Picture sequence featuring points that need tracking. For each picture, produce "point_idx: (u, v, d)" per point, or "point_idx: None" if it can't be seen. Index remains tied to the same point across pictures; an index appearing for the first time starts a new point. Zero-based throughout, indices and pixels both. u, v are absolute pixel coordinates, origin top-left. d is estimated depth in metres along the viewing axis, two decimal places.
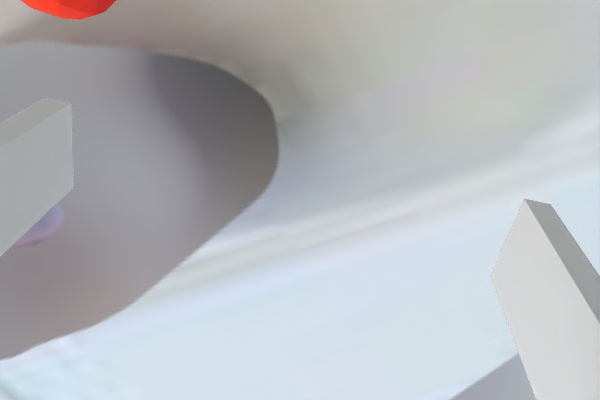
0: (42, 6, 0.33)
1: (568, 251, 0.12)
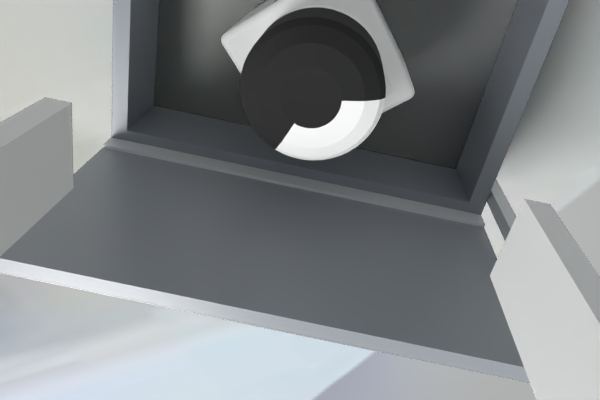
0: None
1: (568, 251, 0.12)
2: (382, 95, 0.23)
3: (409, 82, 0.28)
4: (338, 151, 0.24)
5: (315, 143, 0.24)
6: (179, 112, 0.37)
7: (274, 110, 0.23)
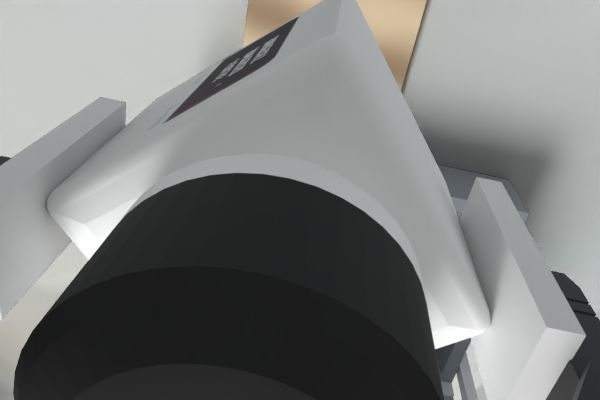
0: None
1: (510, 222, 0.13)
2: None
3: (481, 303, 0.12)
4: None
5: None
6: None
7: None
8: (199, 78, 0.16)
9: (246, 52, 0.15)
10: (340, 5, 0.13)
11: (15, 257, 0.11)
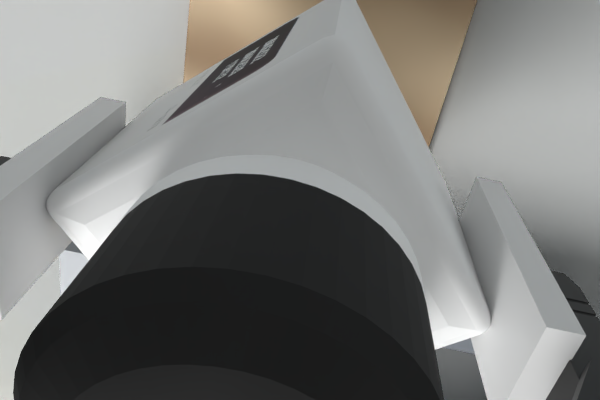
0: None
1: (510, 222, 0.13)
2: None
3: (481, 303, 0.12)
4: None
5: None
6: None
7: None
8: (199, 78, 0.16)
9: (246, 52, 0.15)
10: (340, 5, 0.13)
11: (15, 257, 0.11)
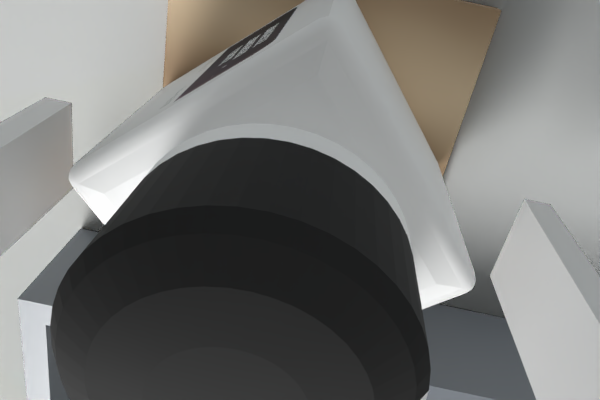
0: None
1: (568, 251, 0.12)
2: (422, 392, 0.09)
3: (466, 263, 0.13)
4: None
5: None
6: None
7: None
8: (205, 65, 0.17)
9: (249, 39, 0.16)
10: None
11: None
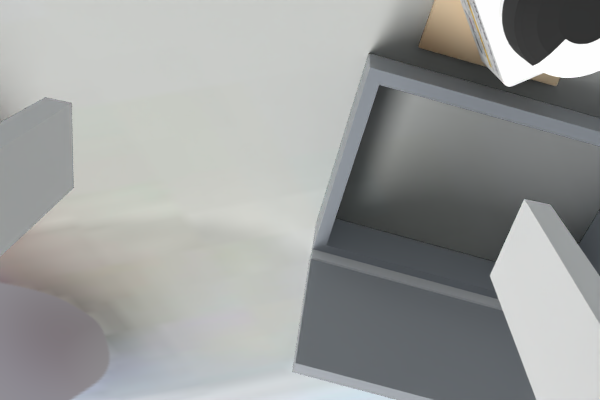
0: None
1: (568, 251, 0.12)
2: None
3: None
4: (594, 69, 0.28)
5: (578, 58, 0.27)
6: (349, 223, 0.48)
7: (550, 26, 0.27)
8: None
9: None
10: None
11: None
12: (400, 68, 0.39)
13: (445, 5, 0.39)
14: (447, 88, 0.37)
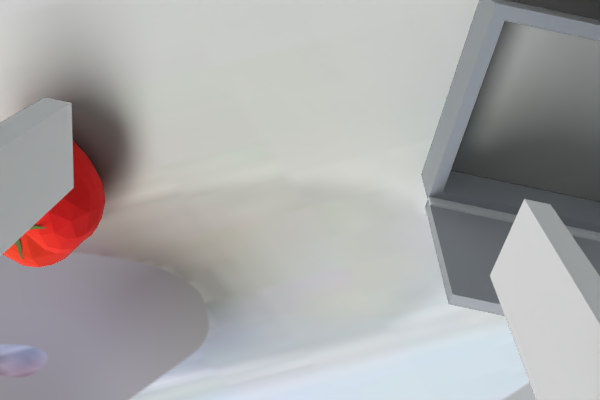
0: (27, 265, 0.48)
1: (568, 251, 0.12)
2: None
3: None
4: None
5: None
6: (456, 172, 0.48)
7: None
8: None
9: None
10: None
11: None
12: (519, 5, 0.39)
13: None
14: (574, 19, 0.37)
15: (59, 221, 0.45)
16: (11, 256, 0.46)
